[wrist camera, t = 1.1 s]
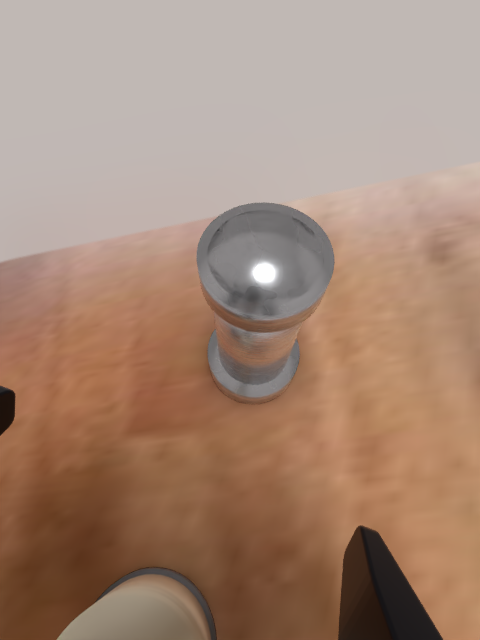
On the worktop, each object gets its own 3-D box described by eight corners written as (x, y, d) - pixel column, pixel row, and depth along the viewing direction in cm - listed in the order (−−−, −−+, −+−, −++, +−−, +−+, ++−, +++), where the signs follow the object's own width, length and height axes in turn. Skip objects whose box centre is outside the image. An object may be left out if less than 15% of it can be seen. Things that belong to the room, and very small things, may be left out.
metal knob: (309, 385, 23) (371, 291, 13) (227, 417, 22) (219, 345, 12) (273, 313, 26) (300, 182, 15) (198, 339, 25) (169, 220, 14)
